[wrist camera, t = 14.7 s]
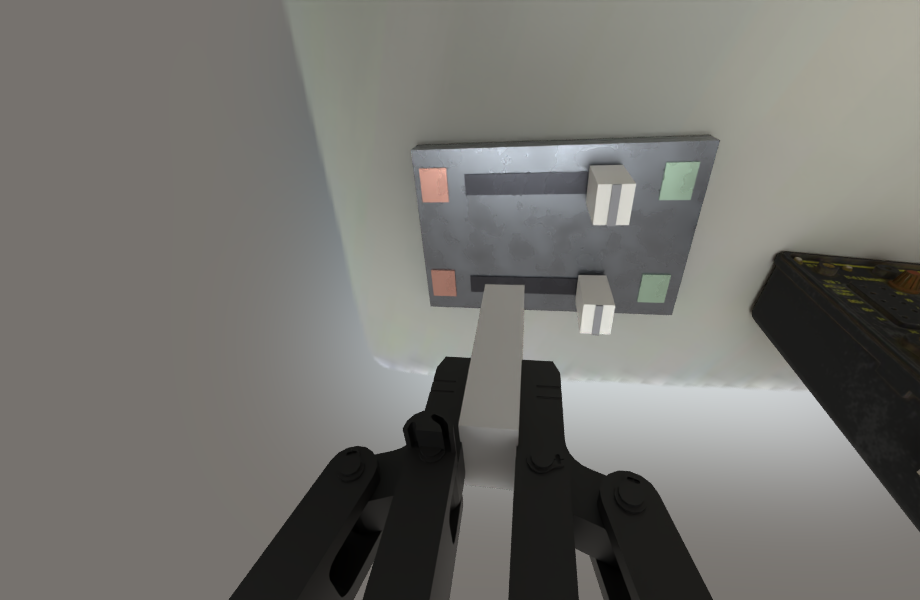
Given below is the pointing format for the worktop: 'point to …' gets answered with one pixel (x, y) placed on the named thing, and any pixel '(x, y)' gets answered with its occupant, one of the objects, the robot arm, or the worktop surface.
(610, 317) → the block
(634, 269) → the breaker panel
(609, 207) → the block
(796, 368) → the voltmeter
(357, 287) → the worktop surface
